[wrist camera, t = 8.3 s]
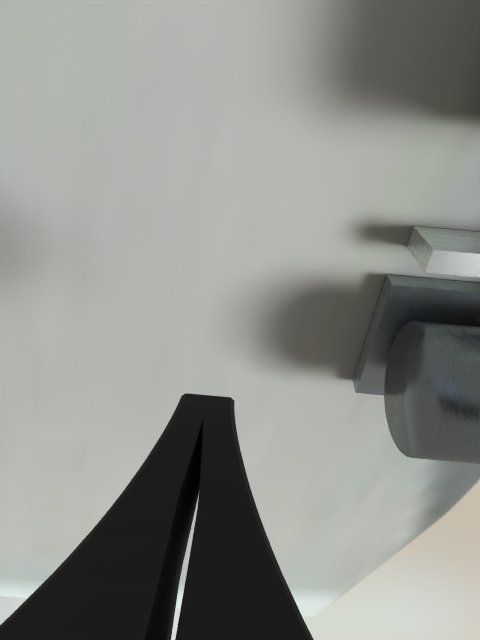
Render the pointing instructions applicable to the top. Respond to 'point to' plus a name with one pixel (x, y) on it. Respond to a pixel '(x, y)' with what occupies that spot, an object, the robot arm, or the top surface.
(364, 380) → the motor unit
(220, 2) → the top surface
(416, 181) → the top surface
